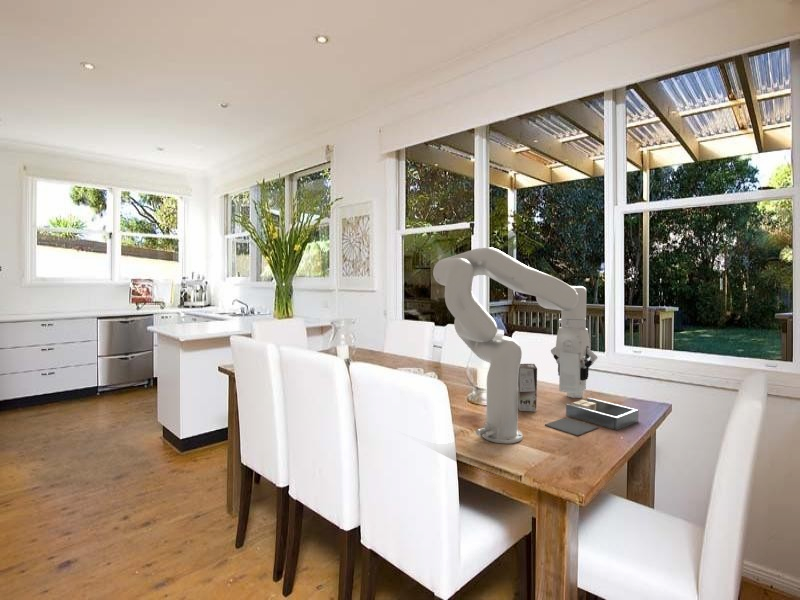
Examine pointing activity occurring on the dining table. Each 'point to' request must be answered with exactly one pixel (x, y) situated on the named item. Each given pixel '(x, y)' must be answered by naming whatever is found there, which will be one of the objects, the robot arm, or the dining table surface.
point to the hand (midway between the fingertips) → (572, 377)
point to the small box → (570, 373)
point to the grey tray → (622, 414)
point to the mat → (572, 426)
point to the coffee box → (527, 387)
